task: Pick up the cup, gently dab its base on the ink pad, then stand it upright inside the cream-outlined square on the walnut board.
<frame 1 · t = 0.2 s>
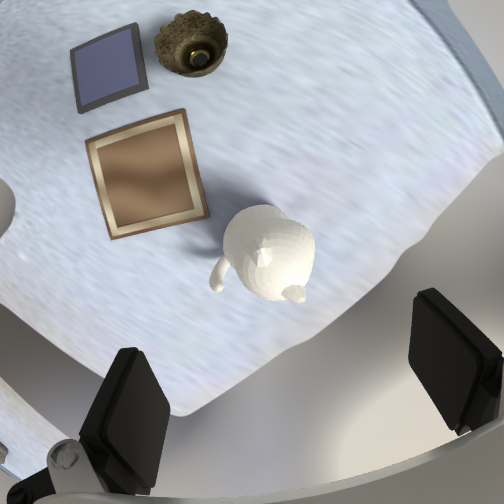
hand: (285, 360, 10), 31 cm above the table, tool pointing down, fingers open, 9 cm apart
marked board: (144, 176, 37), on the table
cat figurine: (254, 238, 41), on the table
ink pad: (108, 67, 32), on the table
cup: (200, 60, 32), on the table
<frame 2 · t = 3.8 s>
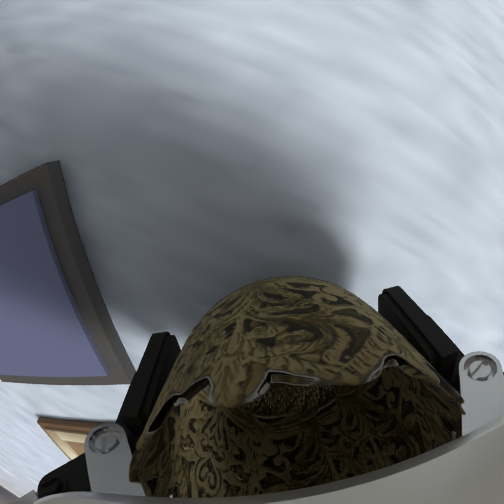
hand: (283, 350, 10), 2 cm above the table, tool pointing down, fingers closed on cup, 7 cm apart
marked board: (164, 479, 17), on the table
ink pad: (18, 293, 12), on the table
cup: (276, 312, 13), on the table, touching gripper
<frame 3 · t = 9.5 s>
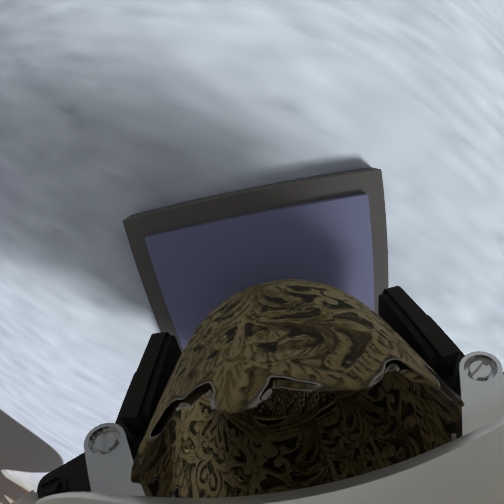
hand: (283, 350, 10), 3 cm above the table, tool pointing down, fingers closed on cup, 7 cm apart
ink pad: (273, 301, 13), on the table
cup: (276, 313, 13), point 1 cm above the table, touching gripper, ink pad
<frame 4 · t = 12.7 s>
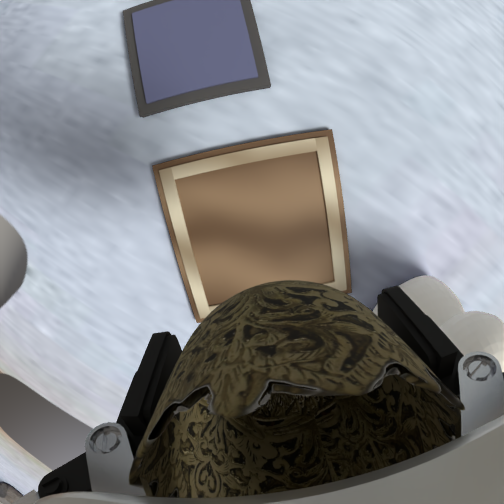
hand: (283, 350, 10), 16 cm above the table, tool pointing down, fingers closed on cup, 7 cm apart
marked board: (259, 230, 25), on the table
cat figurine: (396, 312, 28), on the table
ink pad: (193, 44, 20), on the table
decorative stone: (11, 488, 50), on the table
cup: (275, 314, 12), point 13 cm above the table, touching gripper
when the fingers open (4 cm above the table, at t = 15.5 s): cup drops 1 cm, resting on marked board.
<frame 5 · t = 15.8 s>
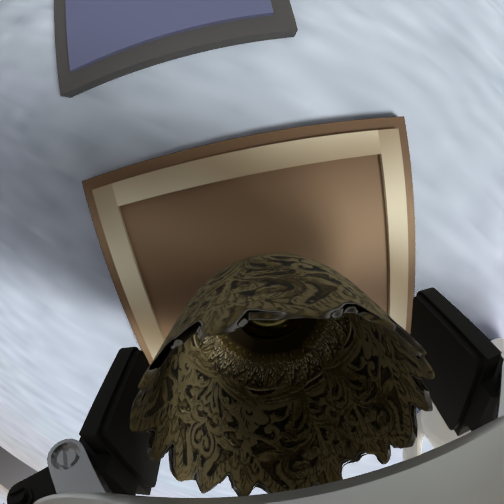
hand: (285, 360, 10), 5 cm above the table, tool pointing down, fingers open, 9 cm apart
marked board: (272, 293, 14), on the table
cat figurine: (453, 382, 18), on the table
cup: (267, 293, 14), resting on marked board
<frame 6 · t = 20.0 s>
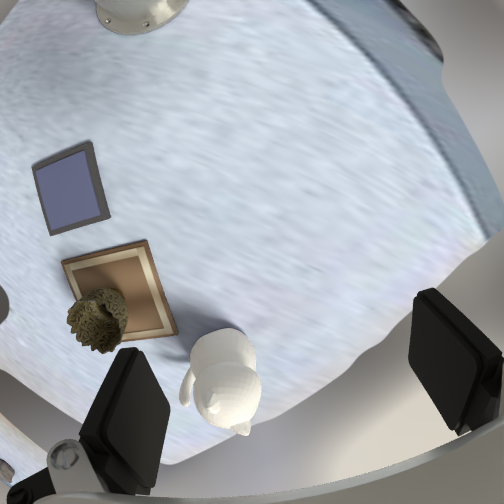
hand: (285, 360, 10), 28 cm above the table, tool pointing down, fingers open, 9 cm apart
marked board: (118, 297, 40), on the table
cat figurine: (219, 349, 44), on the table
ink pad: (70, 190, 35), on the table
decorative stone: (4, 464, 65), on the table
cup: (115, 297, 40), resting on marked board
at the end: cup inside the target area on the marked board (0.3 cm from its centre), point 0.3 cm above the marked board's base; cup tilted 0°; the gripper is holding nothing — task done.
